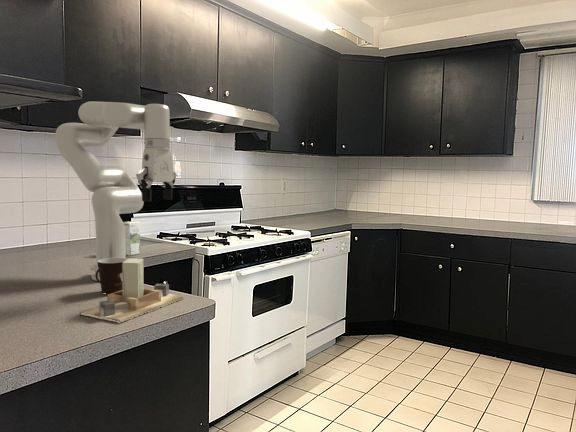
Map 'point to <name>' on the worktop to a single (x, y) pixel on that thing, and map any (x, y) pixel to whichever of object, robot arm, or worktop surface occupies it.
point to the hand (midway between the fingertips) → (157, 200)
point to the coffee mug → (110, 274)
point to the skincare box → (133, 277)
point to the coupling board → (133, 303)
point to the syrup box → (132, 237)
